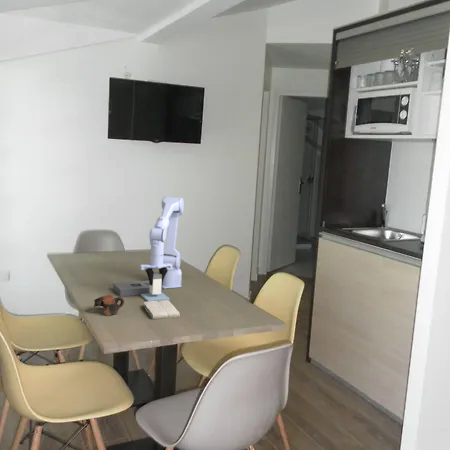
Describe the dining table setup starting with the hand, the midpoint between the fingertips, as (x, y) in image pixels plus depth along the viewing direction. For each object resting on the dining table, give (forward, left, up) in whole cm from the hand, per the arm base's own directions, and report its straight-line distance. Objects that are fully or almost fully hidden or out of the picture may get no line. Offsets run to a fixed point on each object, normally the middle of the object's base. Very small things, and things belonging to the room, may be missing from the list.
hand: (155, 284), depth 221 cm
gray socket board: (+4, -13, -6) cm, 15 cm away
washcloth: (+4, +18, -7) cm, 20 cm away
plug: (0, 0, -4) cm, 4 cm away
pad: (0, 0, -6) cm, 6 cm away
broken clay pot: (+24, +12, -7) cm, 28 cm away
